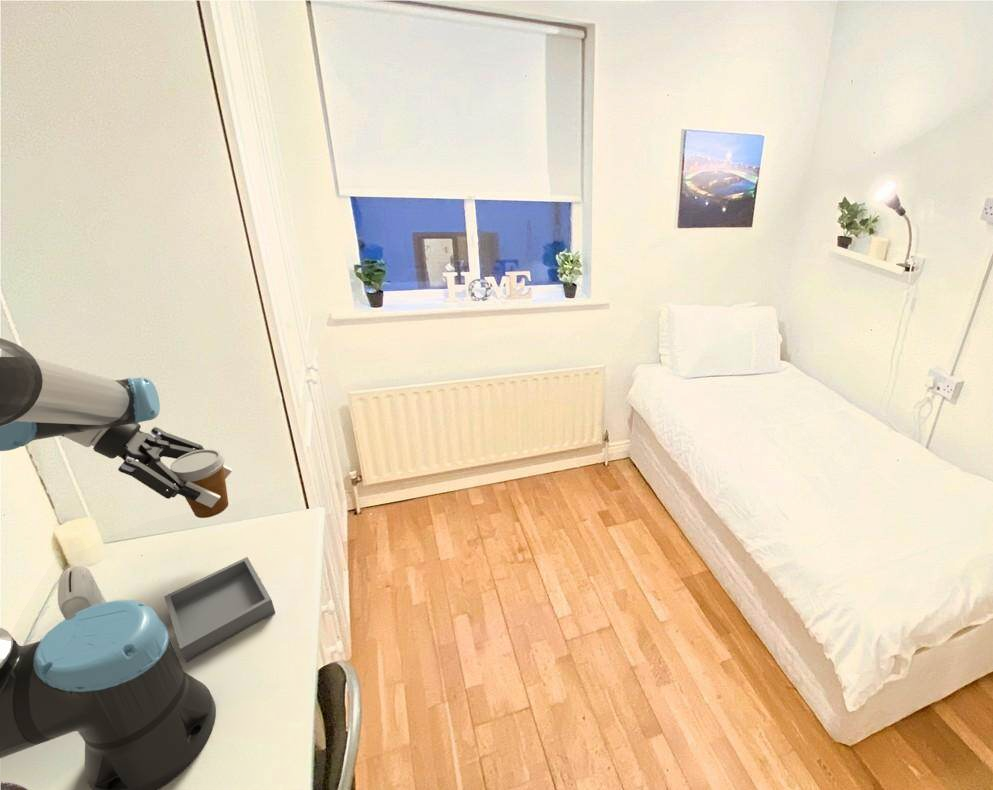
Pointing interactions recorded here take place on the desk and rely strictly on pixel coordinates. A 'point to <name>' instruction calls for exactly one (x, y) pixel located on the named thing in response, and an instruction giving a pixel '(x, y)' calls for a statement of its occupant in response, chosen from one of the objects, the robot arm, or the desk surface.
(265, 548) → the desk surface
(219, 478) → the disposable coffee cup
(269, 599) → the charcoal tray
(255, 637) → the desk surface
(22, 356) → the robot arm
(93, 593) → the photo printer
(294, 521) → the desk surface
